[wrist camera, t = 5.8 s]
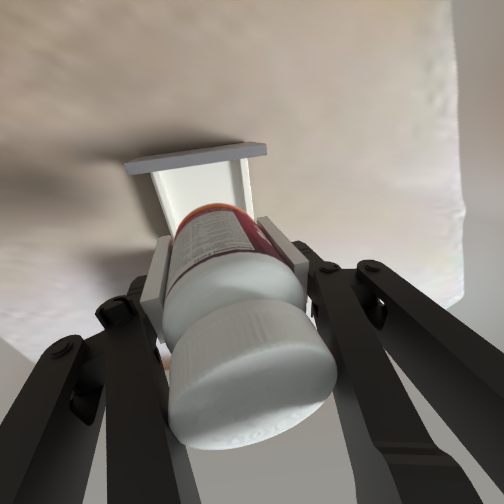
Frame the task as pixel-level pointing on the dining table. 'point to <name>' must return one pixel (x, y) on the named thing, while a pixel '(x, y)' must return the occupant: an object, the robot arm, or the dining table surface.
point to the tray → (199, 178)
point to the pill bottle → (237, 335)
